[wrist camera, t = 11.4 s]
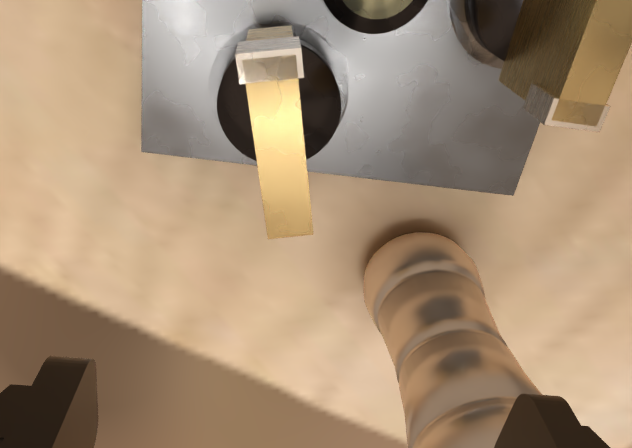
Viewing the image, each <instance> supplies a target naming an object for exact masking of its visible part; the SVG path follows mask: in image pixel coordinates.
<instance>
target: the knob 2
mask: <svg viewBox="0 0 632 448" xmlns="http://www.w3.org/2000/svg"><path fill="white" fill-rule="evenodd" d="M464 8H465V17H466V21H467V24H468V27H469V30H470V32H471V34H472V35H473V37H474V38H475V40H476V41H477V42H478V43H479V44H480V45H481V46H482V47H483V48H484V49H486V50H487V51H488V52H490V53H492V54H493V55H495V56H496V57H498V58H499V59H501V60H503V61H504V64H503V67H502V70H501V73H500V76H499V80H498V81H499V82H501V83H502V84H504V85H505V86H506V87H508V88H509V89H510V90H512V91H513V92H514V93H516V94H517V95H518V96H520V97H521V98H522V99H524V100H525V103H524V106H523V109H525V110H526V111H527V112H529V113H530V114H531V115H532V116H534V117H535V118H536V119H537V120H539V121H540V122H541V123H543V124H544V125H549V126H556V127H564V128H571V129H578V130H586V131H593V132H600V130H601V127H602V125H603V123H604V120H605V118H606V116H607V113H608V111H609V108H610V106H609V105H607V104H606V103H607V100H608V98H609V96H610V93H611V91H612V88H613V86H614V84H615V81H616V79H617V77H618V74H619V72H620V69H621V67H622V65H623V62H624V60H625V57H626V55H627V53H628V50H629V48H630V45H631V43H632V0H465V1H464Z"/></svg>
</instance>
